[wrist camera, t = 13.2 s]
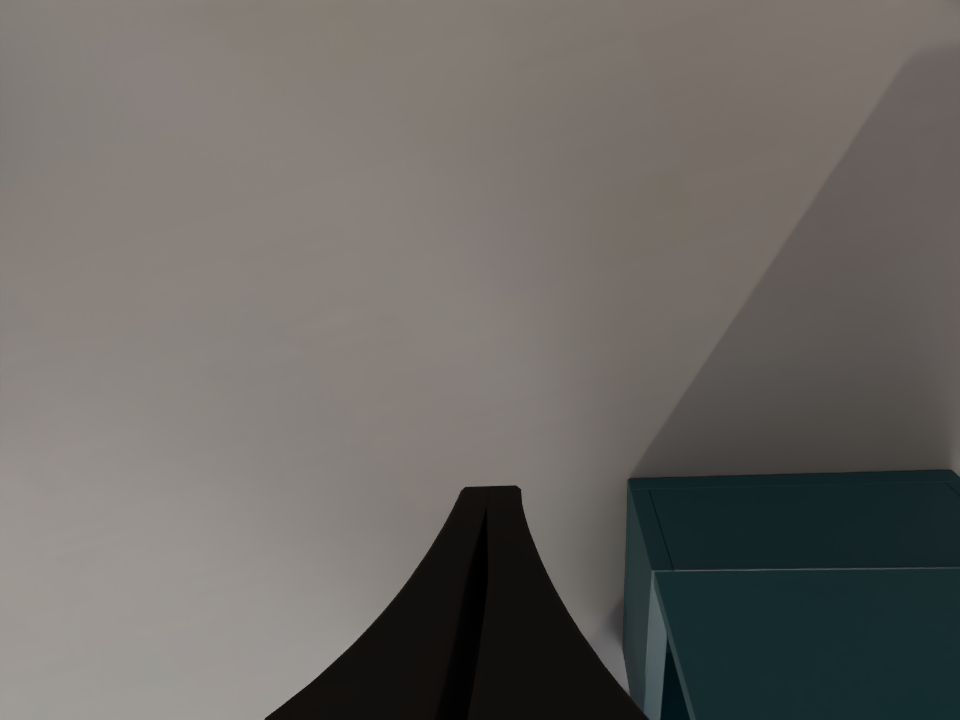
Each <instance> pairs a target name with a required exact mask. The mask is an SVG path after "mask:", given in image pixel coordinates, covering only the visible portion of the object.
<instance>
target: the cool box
mask: <svg viewBox="0 0 960 720" xmlns="http://www.w3.org/2000/svg"><path fill="white" fill-rule="evenodd" d="M951 568H960V477H959V476H958V475H957V474H956V473H955V472H953V471H952V470H935V471H899V472H862V473H825V474H789V475H752V476H715V477H679V478H642V479H628V490H627V521H626V553H625V584H624V616H623V647H622V650H623V655H624V661H625V667H626V673H627V678H628V684H629V690H630V696H631V699H632V700H633V701H634V702H635V704H636V705H637V706H638V707H639V708H640V709H641V710H642V712H643V713H644V714H645V715H646V716H647V717H648V718H649V719H650V720H690V717H689V713H688V710H687V706H686V702H685V699H684V695H683V691H682V688H681V684H680V680H679V677H678V673H677V669H676V666H675V662H674V658H673V655H672V651H671V647H670V644H669V640H668V636H667V633H666V629H665V625H664V622H663V618H662V614H661V611H660V607H659V603H658V600H657V596H656V592H655V589H654V573H655V572H660V571H757V570H854V569H951Z"/></svg>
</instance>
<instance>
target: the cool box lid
mask: <svg viewBox="0 0 960 720" xmlns="http://www.w3.org/2000/svg"><path fill="white" fill-rule="evenodd" d="M654 589H655V592H656V596H657V600H658V603H659V607H660V611H661V614H662V618H663V622H664V625H665V629H666V633H667V636H668V640H669V644H670V647H671V651H672V655H673V658H674V662H675V666H676V669H677V673H678V677H679V680H680V684H681V688H682V691H683V695H684V699H685V702H686V706H687V710H688V713H689V717H690V720H960V568H951V569H854V570H757V571H660V572H655V573H654Z"/></svg>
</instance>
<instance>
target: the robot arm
mask: <svg viewBox="0 0 960 720" xmlns="http://www.w3.org/2000/svg"><path fill="white" fill-rule="evenodd" d="M265 720H650V719H649V718H648V717H647V716H646V715H645V714H644V713H643V712H642V710H641V709H640V708H639V707H638V706H637V705H636V704H635V702H634V701H633V700H632V699H631V698H630V697H629V695H628V694H627V693H626V692H625V691H624V690H623V688H622V687H621V686H620V685H619V683H618V682H617V681H616V680H615V678H614V677H613V676H612V675H611V673H610V672H609V671H608V669H607V668H606V667H605V666H604V664H603V663H602V661H601V660H600V659H599V657H598V656H597V654H596V653H595V652H594V650H593V649H592V647H591V646H590V644H589V643H588V642H587V640H586V639H585V637H584V636H583V635H582V633H581V632H580V630H579V629H578V627H577V625H576V624H575V622H574V621H573V619H572V617H571V616H570V614H569V613H568V611H567V609H566V607H565V606H564V604H563V602H562V600H561V599H560V597H559V595H558V593H557V591H556V590H555V588H554V586H553V584H552V582H551V580H550V578H549V576H548V574H547V572H546V569H545V567H544V565H543V563H542V561H541V559H540V556H539V554H538V552H537V549H536V546H535V544H534V541H533V539H532V536H531V534H530V531H529V528H528V525H527V521H526V518H525V515H524V510H523V506H522V497H521V489H520V488H519V487H517V486H516V485H515V486H483V487H465V488H464V489H463V490H462V491H461V492H460V494H459V497H458V499H457V501H456V503H455V505H454V507H453V509H452V511H451V513H450V515H449V517H448V519H447V520H446V522H445V524H444V526H443V528H442V529H441V531H440V533H439V534H438V536H437V538H436V539H435V541H434V543H433V544H432V546H431V548H430V549H429V551H428V552H427V554H426V555H425V557H424V558H423V560H422V561H421V563H420V564H419V566H418V567H417V568H416V570H415V571H414V573H413V574H412V576H411V577H410V579H409V580H408V581H407V583H406V584H405V585H404V587H403V588H402V589H401V590H400V592H399V593H398V594H397V596H396V597H395V598H394V599H393V600H392V602H391V603H390V604H389V605H388V606H387V608H386V609H385V610H384V611H383V612H382V614H381V615H380V616H379V617H378V618H377V619H376V620H375V621H374V622H373V623H372V625H371V626H370V627H369V628H368V629H367V630H366V631H365V632H364V633H363V634H362V635H361V636H360V637H359V638H358V639H357V641H356V642H355V643H354V644H353V645H352V646H351V647H350V648H348V649H347V650H346V651H345V652H344V653H343V654H342V655H341V656H340V657H339V658H338V659H337V660H335V661H334V662H333V663H332V664H331V665H330V666H329V667H328V668H327V669H326V670H325V671H324V672H322V673H321V674H320V675H319V676H318V677H317V678H316V679H315V680H313V681H312V682H311V683H310V684H309V685H308V686H306V687H305V688H304V689H302V690H301V691H300V692H299V693H297V694H296V695H295V696H293V697H292V698H291V699H290V700H288V701H287V702H286V703H285V704H283V705H282V706H281V707H279V708H278V709H277V710H276V711H274V712H273V713H271V714H270V715H269V716H267V717H266V718H265Z"/></svg>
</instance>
